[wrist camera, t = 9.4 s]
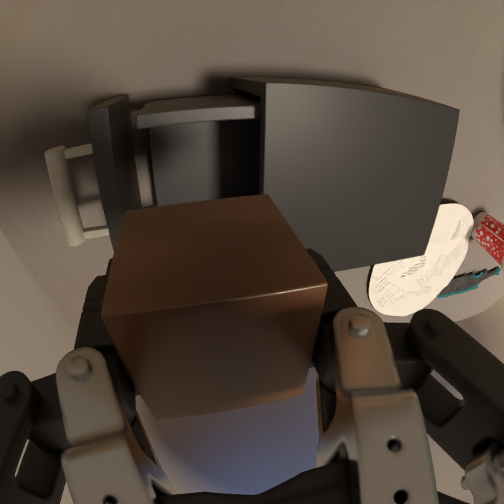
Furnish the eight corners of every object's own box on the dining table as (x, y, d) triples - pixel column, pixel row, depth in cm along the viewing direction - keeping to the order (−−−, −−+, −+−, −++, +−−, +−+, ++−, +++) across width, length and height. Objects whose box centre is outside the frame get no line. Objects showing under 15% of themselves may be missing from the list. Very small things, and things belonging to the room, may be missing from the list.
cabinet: (233, 217, 29) (260, 284, 21) (231, 76, 22) (265, 82, 14) (368, 205, 32) (424, 255, 24) (385, 88, 24) (460, 109, 17)
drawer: (88, 235, 25) (68, 292, 19) (63, 107, 18) (19, 127, 12) (281, 211, 29) (315, 260, 22) (287, 84, 22) (334, 95, 16)
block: (151, 315, 11) (154, 420, 8) (124, 209, 9) (99, 315, 5) (264, 299, 12) (302, 395, 8) (268, 193, 9) (329, 282, 6)
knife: (491, 282, 51) (500, 263, 48) (494, 285, 50) (503, 266, 47) (419, 301, 45) (430, 277, 42) (422, 305, 44) (434, 281, 42)
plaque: (449, 169, 31) (457, 173, 30) (477, 247, 42) (483, 252, 41) (342, 280, 37) (347, 288, 36) (398, 328, 48) (402, 334, 46)
